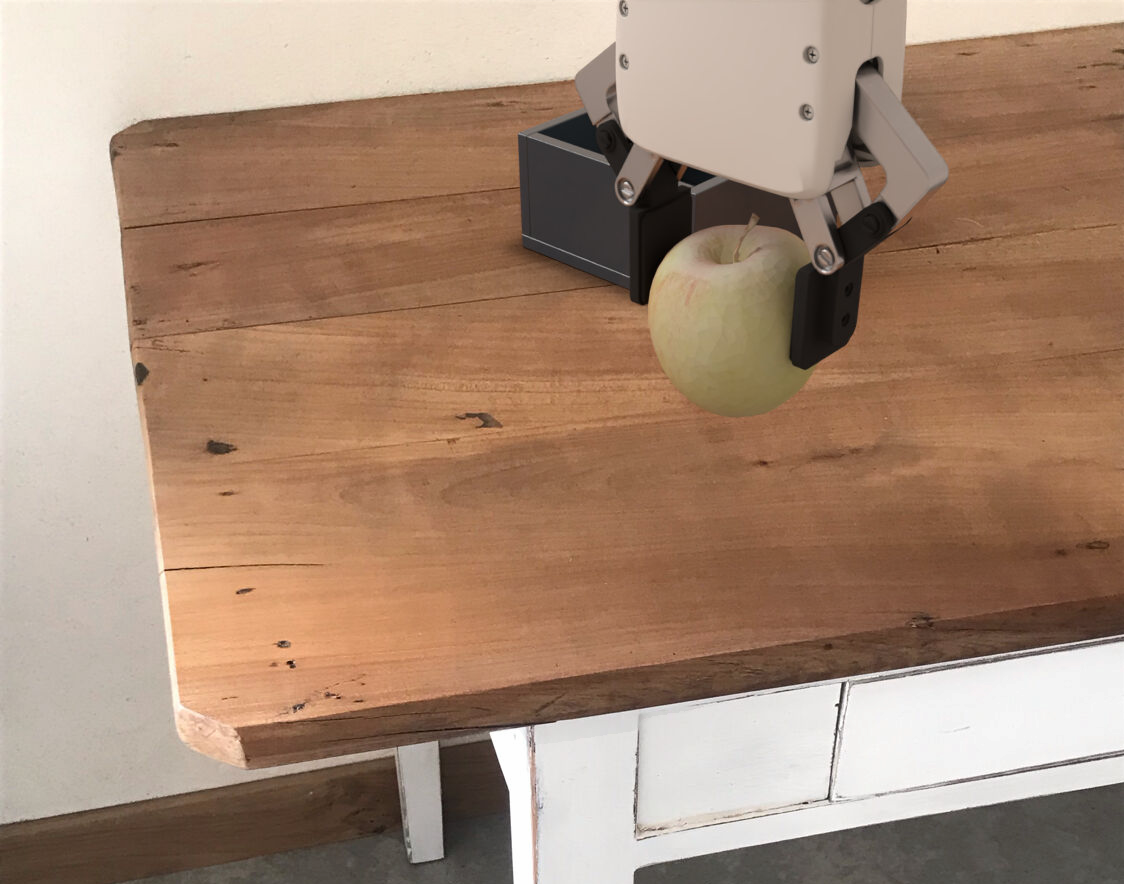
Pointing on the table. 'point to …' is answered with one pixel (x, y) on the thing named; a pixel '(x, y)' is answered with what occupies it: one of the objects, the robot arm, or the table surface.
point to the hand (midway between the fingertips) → (737, 320)
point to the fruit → (729, 317)
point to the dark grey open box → (614, 200)
